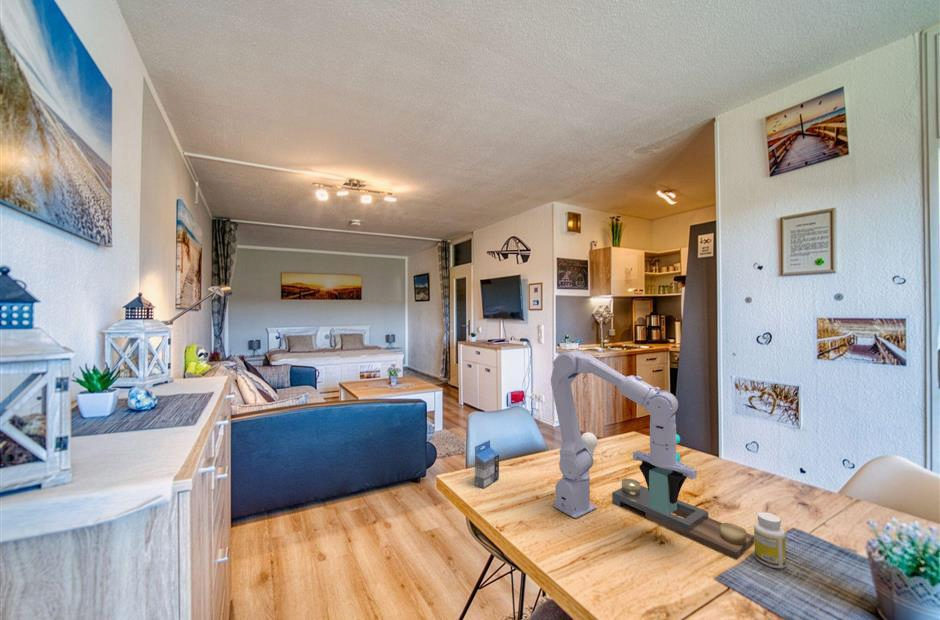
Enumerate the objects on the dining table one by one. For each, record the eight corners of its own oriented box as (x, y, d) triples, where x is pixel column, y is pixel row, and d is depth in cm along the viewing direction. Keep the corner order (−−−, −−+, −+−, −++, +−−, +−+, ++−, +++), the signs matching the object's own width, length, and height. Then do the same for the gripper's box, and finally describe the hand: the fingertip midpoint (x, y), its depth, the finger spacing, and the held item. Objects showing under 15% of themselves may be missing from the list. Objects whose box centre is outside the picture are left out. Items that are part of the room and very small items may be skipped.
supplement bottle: (771, 553, 86) (771, 510, 86) (792, 569, 80) (792, 523, 80) (748, 553, 85) (748, 510, 86) (768, 569, 80) (767, 523, 80)
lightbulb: (586, 466, 134) (586, 435, 134) (577, 460, 140) (577, 430, 140) (601, 464, 136) (600, 434, 136) (591, 458, 142) (591, 429, 142)
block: (667, 514, 88) (667, 476, 88) (649, 506, 92) (649, 470, 92) (676, 509, 91) (676, 472, 91) (658, 501, 94) (658, 465, 94)
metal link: (688, 537, 91) (688, 515, 91) (612, 502, 108) (612, 484, 108) (708, 523, 98) (708, 502, 98) (633, 492, 115) (633, 474, 115)
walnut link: (736, 559, 83) (736, 542, 83) (645, 517, 100) (645, 503, 100) (754, 542, 90) (754, 525, 90) (666, 505, 107) (666, 492, 107)
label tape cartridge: (484, 489, 117) (484, 449, 117) (474, 485, 119) (474, 447, 119) (499, 479, 124) (499, 442, 124) (489, 476, 126) (489, 439, 126)
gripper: (702, 447, 88) (702, 505, 88) (643, 431, 100) (643, 482, 99) (688, 453, 84) (688, 514, 83) (628, 436, 95) (628, 490, 95)
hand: (663, 498), depth 91 cm, fingers closed on block, 4 cm apart
